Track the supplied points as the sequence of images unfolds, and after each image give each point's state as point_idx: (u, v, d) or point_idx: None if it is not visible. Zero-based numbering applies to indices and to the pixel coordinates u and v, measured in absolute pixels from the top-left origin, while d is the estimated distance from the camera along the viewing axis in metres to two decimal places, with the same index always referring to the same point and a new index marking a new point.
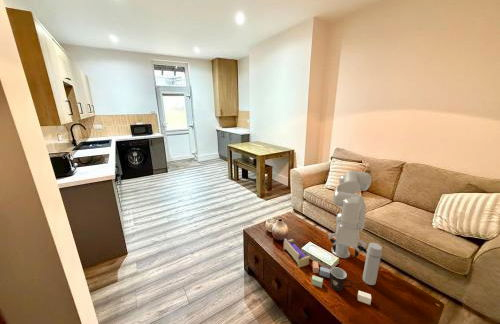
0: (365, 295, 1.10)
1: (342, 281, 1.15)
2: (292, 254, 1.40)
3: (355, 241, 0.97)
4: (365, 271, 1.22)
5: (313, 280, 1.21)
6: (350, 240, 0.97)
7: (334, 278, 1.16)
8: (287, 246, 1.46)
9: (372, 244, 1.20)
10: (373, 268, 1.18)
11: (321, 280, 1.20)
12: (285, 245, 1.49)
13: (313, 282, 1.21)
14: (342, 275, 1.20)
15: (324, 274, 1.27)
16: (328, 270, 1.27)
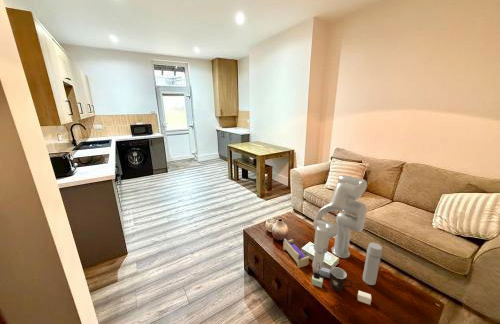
0: (365, 295, 1.10)
1: (342, 281, 1.15)
2: (292, 254, 1.40)
3: None
4: (365, 271, 1.22)
5: (313, 280, 1.21)
6: None
7: (334, 278, 1.16)
8: (287, 247, 1.46)
9: (372, 244, 1.20)
10: (373, 268, 1.18)
11: (321, 280, 1.20)
12: (285, 245, 1.48)
13: (313, 282, 1.21)
14: (342, 275, 1.20)
15: (324, 274, 1.27)
16: (328, 270, 1.27)
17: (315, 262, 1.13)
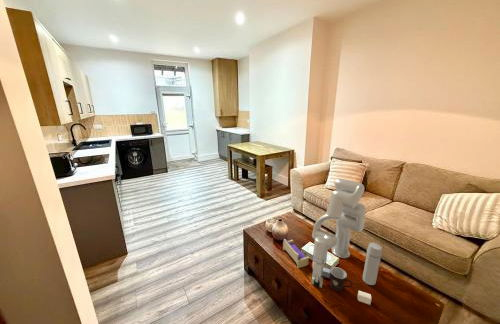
0: (365, 295, 1.10)
1: (342, 281, 1.15)
2: (291, 255, 1.40)
3: None
4: (365, 271, 1.22)
5: (313, 280, 1.21)
6: None
7: (334, 278, 1.16)
8: (286, 247, 1.45)
9: (372, 244, 1.20)
10: (373, 268, 1.18)
11: (321, 280, 1.20)
12: (284, 245, 1.48)
13: (313, 282, 1.21)
14: (342, 275, 1.20)
15: (324, 274, 1.27)
16: (328, 270, 1.27)
17: (314, 273, 1.15)
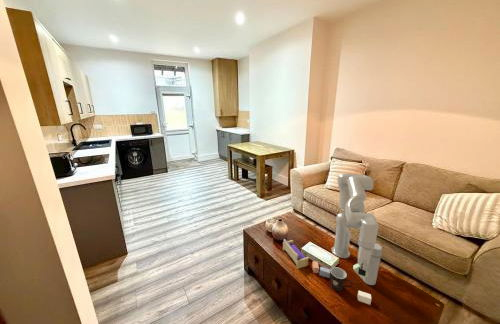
0: (365, 295, 1.10)
1: (342, 281, 1.15)
2: (291, 255, 1.40)
3: None
4: None
5: None
6: None
7: (334, 278, 1.16)
8: (286, 247, 1.45)
9: None
10: (373, 268, 1.18)
11: (367, 273, 1.07)
12: (284, 246, 1.48)
13: (357, 269, 1.08)
14: (342, 275, 1.20)
15: (324, 274, 1.27)
16: (328, 270, 1.27)
17: (361, 259, 1.02)
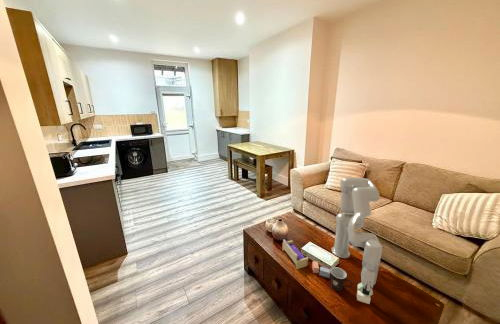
0: (364, 295, 1.10)
1: (342, 281, 1.15)
2: (290, 255, 1.39)
3: None
4: None
5: None
6: None
7: (334, 278, 1.16)
8: (286, 247, 1.45)
9: None
10: None
11: (371, 291, 1.08)
12: (284, 246, 1.48)
13: (361, 289, 1.09)
14: (342, 275, 1.20)
15: (324, 274, 1.27)
16: (328, 270, 1.27)
17: (365, 280, 1.04)
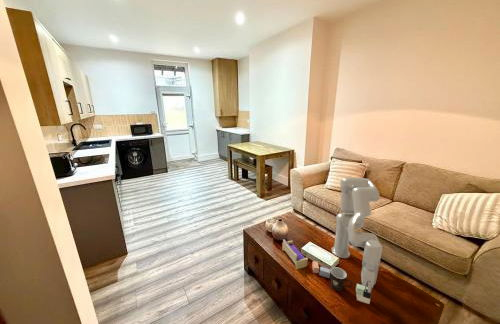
0: None
1: (342, 281, 1.15)
2: (290, 255, 1.39)
3: None
4: None
5: (359, 289, 1.10)
6: None
7: (334, 278, 1.16)
8: (286, 248, 1.45)
9: None
10: None
11: None
12: (284, 246, 1.48)
13: (359, 291, 1.10)
14: (342, 275, 1.20)
15: (324, 274, 1.27)
16: (328, 270, 1.27)
17: (365, 280, 1.04)
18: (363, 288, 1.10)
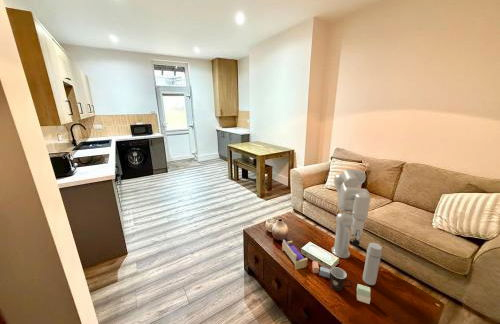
0: None
1: (342, 281, 1.15)
2: (290, 256, 1.39)
3: None
4: (365, 271, 1.22)
5: (359, 289, 1.10)
6: None
7: (334, 278, 1.16)
8: (285, 248, 1.45)
9: (372, 244, 1.20)
10: (373, 268, 1.18)
11: (369, 289, 1.09)
12: (283, 246, 1.47)
13: (359, 292, 1.10)
14: (342, 275, 1.20)
15: (324, 274, 1.27)
16: (328, 270, 1.27)
17: (355, 230, 1.11)
18: (364, 288, 1.10)
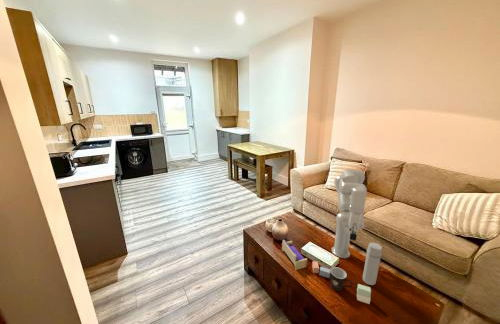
0: None
1: (342, 281, 1.15)
2: (290, 256, 1.39)
3: None
4: (365, 271, 1.22)
5: (360, 289, 1.10)
6: None
7: (334, 278, 1.16)
8: (285, 248, 1.44)
9: (372, 244, 1.20)
10: (373, 268, 1.18)
11: (369, 289, 1.09)
12: (283, 246, 1.47)
13: (360, 292, 1.10)
14: (342, 275, 1.20)
15: (324, 274, 1.27)
16: (328, 270, 1.27)
17: (352, 223, 1.13)
18: (364, 288, 1.10)
